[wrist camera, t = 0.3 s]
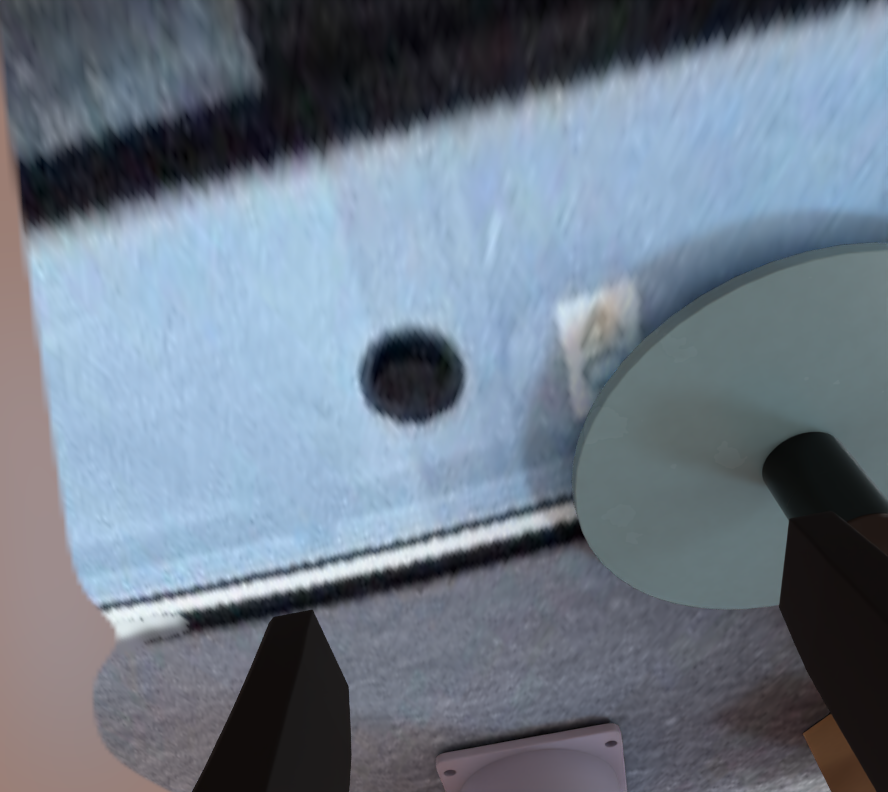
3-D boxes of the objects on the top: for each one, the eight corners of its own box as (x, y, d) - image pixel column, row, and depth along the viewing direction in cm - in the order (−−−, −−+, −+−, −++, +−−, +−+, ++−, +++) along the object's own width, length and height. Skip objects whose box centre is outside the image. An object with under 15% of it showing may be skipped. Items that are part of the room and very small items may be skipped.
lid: (621, 626, 28) (659, 741, 24) (509, 343, 20) (540, 449, 16) (999, 513, 26) (1103, 620, 22) (1036, 150, 18) (1205, 222, 14)
